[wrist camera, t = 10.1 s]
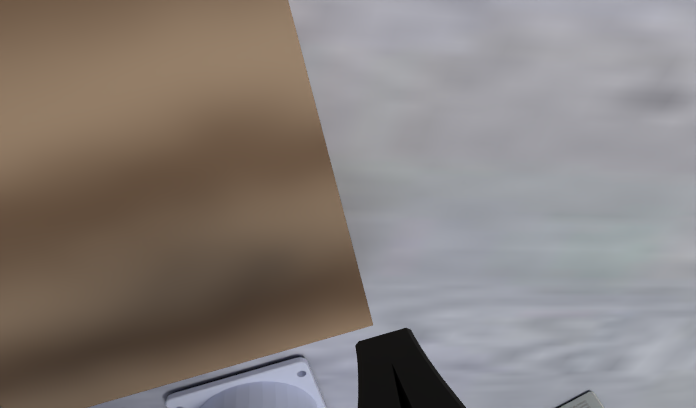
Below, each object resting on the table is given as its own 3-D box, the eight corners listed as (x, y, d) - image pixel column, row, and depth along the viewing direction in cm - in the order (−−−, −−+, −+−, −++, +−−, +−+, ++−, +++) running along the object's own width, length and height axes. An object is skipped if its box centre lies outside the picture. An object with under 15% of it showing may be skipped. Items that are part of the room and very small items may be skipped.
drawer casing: (360, 280, 22) (373, 325, 20) (50, 368, 22) (23, 425, 19) (239, -174, 12) (235, -201, 10) (-337, -34, 12) (-497, -25, 9)
